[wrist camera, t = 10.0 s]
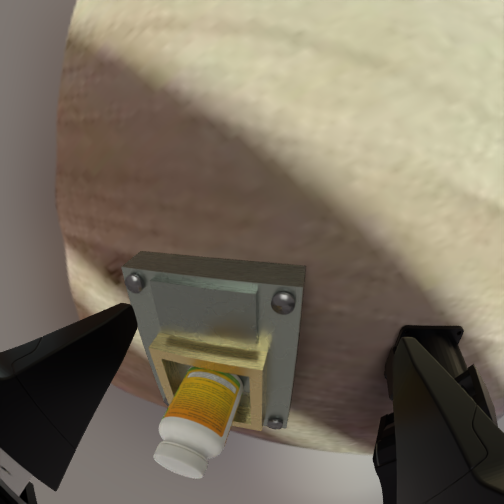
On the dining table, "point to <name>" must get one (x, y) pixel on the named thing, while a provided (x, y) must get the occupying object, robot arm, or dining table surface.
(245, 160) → the dining table surface
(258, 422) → the grey fixture plate
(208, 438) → the supplement bottle
